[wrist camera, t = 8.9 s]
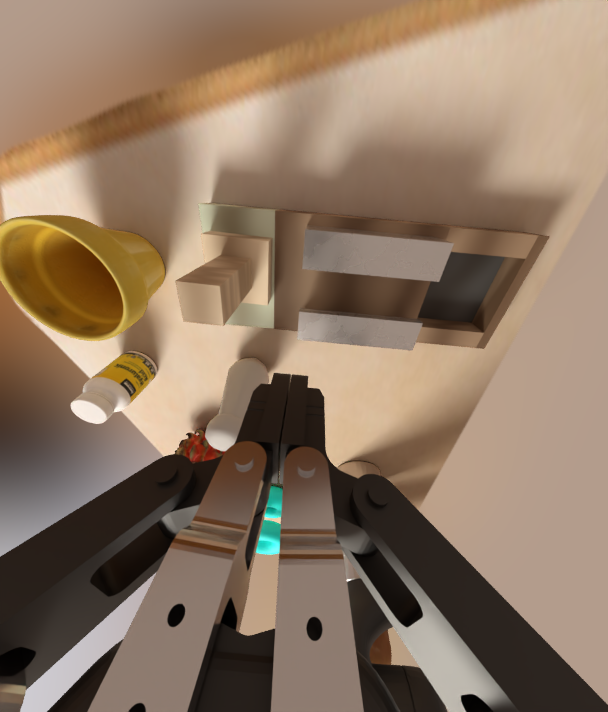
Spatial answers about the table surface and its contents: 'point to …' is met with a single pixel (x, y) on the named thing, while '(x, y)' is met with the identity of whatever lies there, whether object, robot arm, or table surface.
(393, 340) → the grey slotted block
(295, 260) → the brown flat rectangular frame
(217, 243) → the slider block
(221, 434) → the salt shaker
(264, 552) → the donuts
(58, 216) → the plant pot
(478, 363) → the table surface
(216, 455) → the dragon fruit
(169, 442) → the table surface
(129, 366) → the supplement bottle
